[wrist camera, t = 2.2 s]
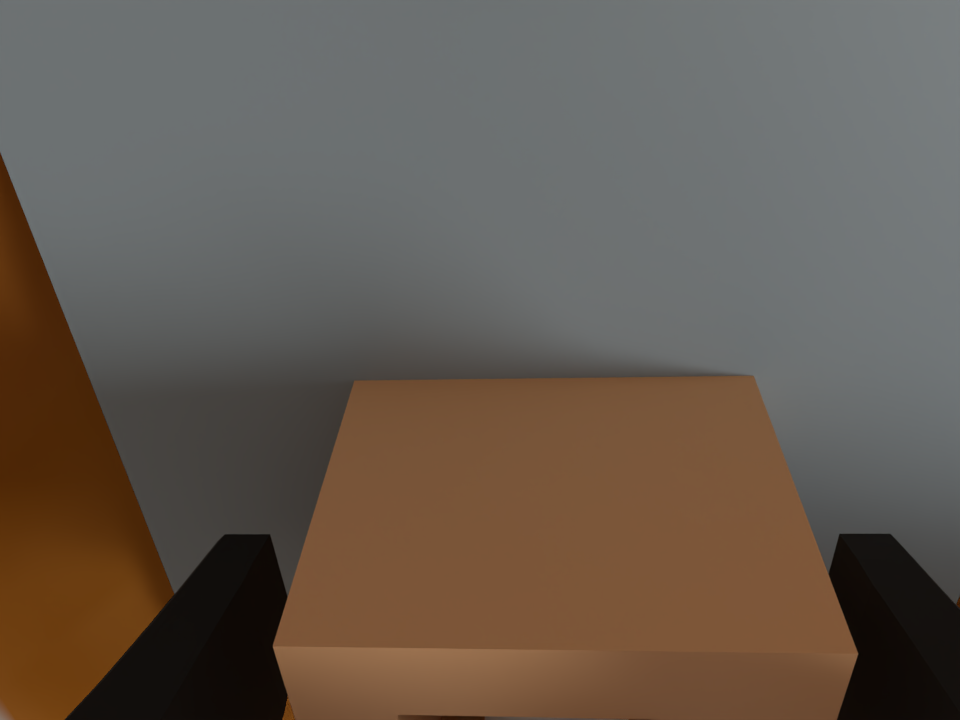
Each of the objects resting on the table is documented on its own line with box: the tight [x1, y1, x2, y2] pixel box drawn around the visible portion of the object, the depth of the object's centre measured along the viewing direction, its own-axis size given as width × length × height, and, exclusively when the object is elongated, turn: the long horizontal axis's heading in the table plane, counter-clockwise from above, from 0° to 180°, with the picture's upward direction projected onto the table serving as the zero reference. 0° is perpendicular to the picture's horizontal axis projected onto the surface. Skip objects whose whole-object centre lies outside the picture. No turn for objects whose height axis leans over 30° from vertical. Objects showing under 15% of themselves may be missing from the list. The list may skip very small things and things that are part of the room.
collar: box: [273, 376, 858, 720], centre depth 10 cm, size 5×5×4 cm
